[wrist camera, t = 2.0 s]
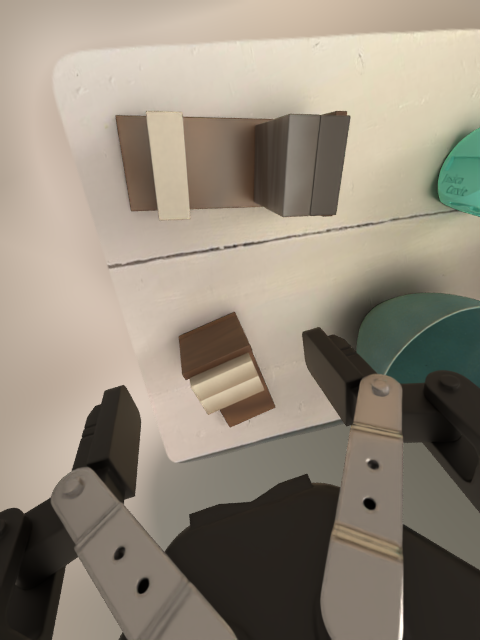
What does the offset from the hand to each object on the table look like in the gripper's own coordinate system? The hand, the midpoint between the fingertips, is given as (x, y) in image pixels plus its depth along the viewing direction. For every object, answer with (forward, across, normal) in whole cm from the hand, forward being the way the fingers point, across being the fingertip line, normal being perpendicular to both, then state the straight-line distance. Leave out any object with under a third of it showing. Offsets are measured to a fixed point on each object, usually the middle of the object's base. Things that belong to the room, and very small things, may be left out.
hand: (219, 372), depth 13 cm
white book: (+23, 0, -8) cm, 24 cm away
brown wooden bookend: (+24, -5, -7) cm, 25 cm away
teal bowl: (+24, -25, +20) cm, 40 cm away
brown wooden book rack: (+24, -1, +20) cm, 31 cm away
